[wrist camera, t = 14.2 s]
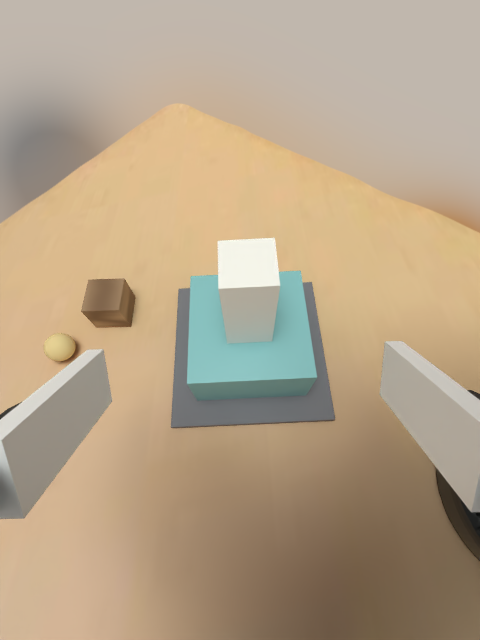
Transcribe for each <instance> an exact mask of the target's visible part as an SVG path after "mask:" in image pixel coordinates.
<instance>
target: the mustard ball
mask: <svg viewBox="0 0 480 640" xmlns="http://www.w3.org/2000/svg"><path fill="white" fill-rule="evenodd" d="M74 351H75V342H74V340H73V339H72V338H71V337H70V336H69V335H67V334H63V333H57V334H54V335H51V336H50V337H49V338H48V339H47V340H46V341H45V343H44V352H45V354H46V356H47V357H48V358H50V359H51V360H54V361H64V360H67V359H68V358H70V357H71V356H72V355H73V353H74Z"/></svg>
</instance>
